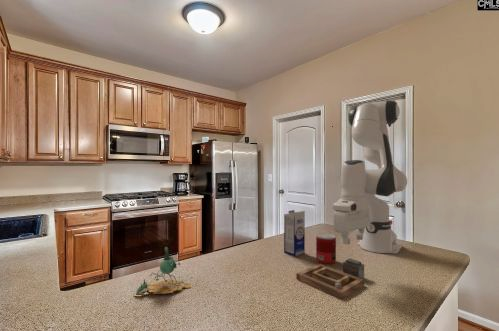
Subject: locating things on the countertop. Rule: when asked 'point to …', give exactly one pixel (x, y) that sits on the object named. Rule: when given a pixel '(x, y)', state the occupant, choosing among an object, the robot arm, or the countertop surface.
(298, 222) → the milk carton
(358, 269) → the grey block
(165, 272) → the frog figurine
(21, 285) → the countertop surface
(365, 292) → the countertop surface
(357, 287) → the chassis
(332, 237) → the canned food
